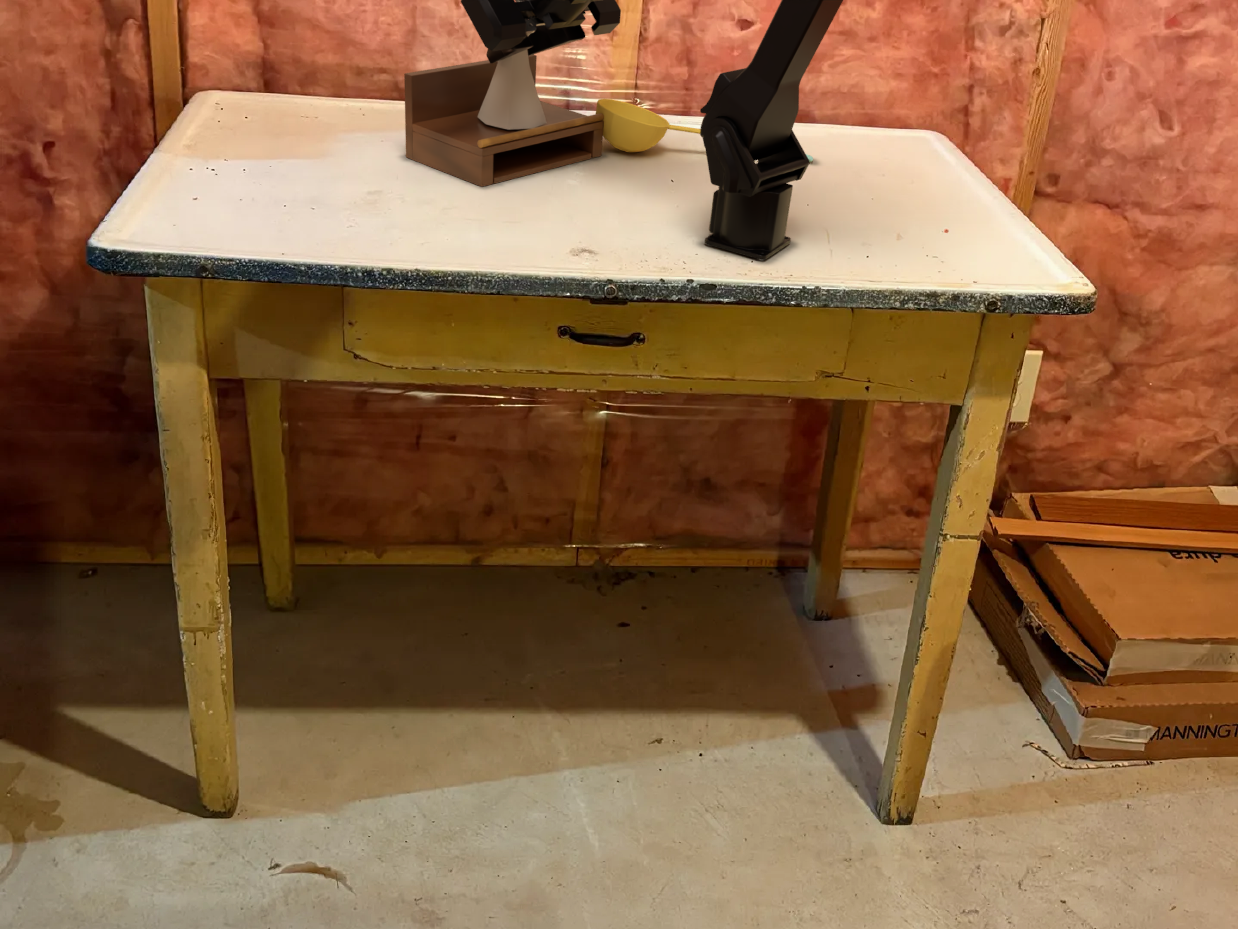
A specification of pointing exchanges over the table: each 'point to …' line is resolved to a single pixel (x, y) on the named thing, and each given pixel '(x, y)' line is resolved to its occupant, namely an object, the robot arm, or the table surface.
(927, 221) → the table surface
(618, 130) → the ladle
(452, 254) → the table surface
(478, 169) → the spice rack
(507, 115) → the flask
